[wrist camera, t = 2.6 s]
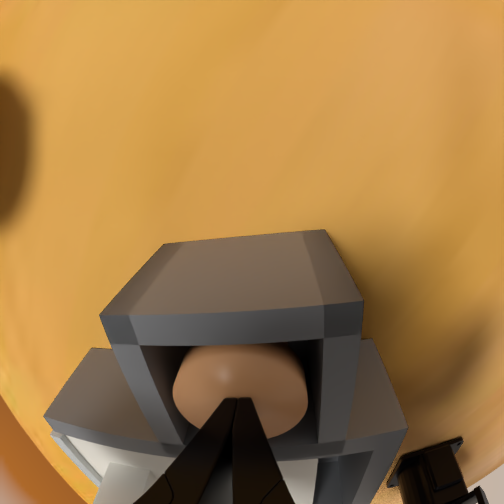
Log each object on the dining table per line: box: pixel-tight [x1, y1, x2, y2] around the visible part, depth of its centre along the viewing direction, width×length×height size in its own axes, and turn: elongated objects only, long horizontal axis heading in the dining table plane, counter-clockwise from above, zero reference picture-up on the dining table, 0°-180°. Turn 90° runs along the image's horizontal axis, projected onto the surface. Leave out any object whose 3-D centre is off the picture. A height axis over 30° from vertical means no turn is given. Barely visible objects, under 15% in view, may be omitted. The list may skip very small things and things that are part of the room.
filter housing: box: [43, 229, 408, 504], centre depth 13 cm, size 18×16×6 cm
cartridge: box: [50, 430, 318, 504], centre depth 12 cm, size 9×13×8 cm
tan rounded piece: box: [173, 342, 308, 439], centre depth 10 cm, size 4×4×4 cm
